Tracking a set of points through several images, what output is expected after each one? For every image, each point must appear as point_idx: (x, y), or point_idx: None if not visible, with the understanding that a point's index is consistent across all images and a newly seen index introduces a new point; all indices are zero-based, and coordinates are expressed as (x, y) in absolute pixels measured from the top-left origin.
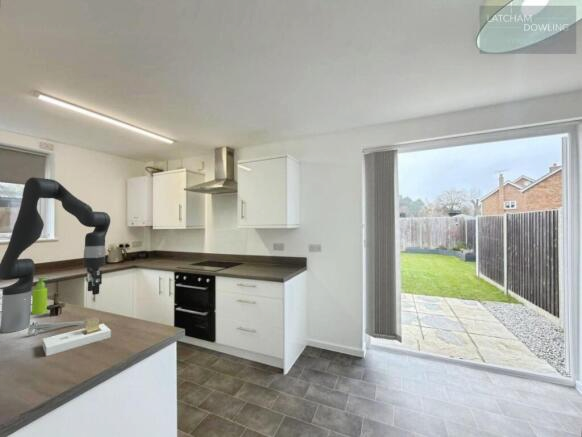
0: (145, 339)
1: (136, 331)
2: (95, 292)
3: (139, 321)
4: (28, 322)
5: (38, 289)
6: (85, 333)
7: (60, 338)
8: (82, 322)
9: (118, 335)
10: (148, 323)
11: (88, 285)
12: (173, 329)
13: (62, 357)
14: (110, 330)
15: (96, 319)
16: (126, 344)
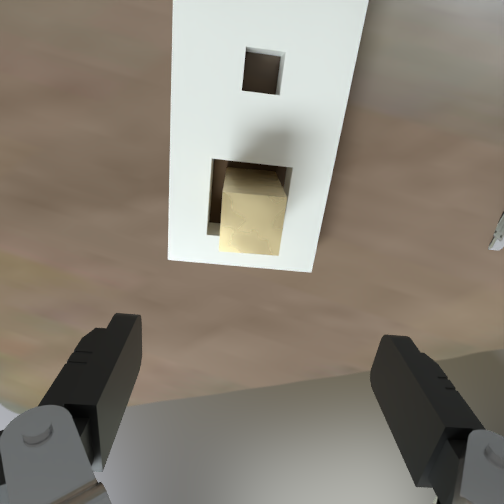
0: (22, 314)
1: (149, 327)
2: (83, 346)
3: (264, 376)
4: None
5: None
6: (259, 175)
7: (283, 60)
8: (501, 232)
9: (167, 271)
10: (204, 386)
11: (424, 396)
12: None
13: (92, 21)
14: (168, 257)
15: (223, 239)
16: (25, 252)
